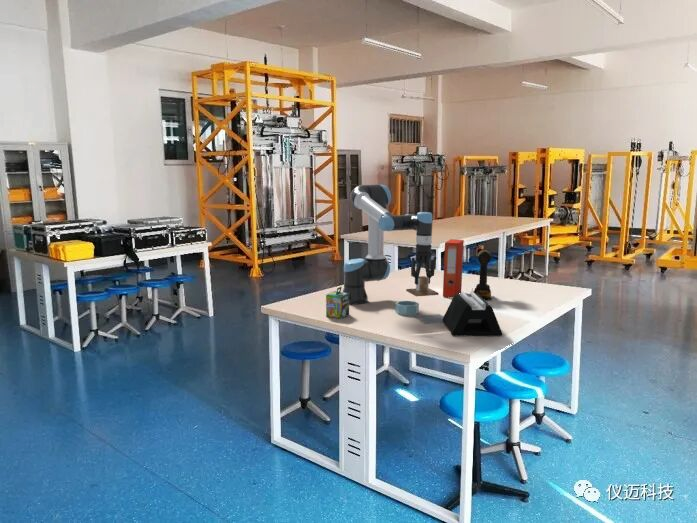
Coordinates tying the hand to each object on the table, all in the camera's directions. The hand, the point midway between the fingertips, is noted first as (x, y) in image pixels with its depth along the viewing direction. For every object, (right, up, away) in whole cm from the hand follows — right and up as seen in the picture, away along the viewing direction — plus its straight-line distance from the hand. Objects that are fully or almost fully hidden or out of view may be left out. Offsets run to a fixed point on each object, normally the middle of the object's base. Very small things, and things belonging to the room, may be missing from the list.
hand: (422, 290), depth 281 cm
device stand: (+20, -17, -19) cm, 32 cm away
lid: (0, -1, 0) cm, 1 cm away
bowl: (-7, -13, +9) cm, 17 cm away
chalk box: (-42, -13, +5) cm, 44 cm away
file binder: (+25, -6, +54) cm, 60 cm away
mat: (+5, -14, -3) cm, 16 cm away
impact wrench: (+42, -6, +49) cm, 65 cm away
